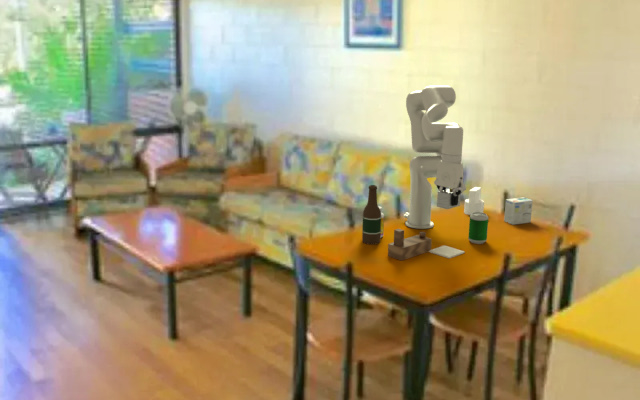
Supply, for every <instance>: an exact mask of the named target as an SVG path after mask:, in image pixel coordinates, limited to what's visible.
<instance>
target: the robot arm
mask: <svg viewBox="0 0 640 400" xmlns="http://www.w3.org/2000/svg"><path fill="white" fill-rule="evenodd" d="M456 99H457V96H456V91H455V89H454V88H453V87H452V86H450V85H428V86H426V87H424V88H422V89H421V90H415V91H411V92H410V93H408V94H407V96H406V100H405V107H406V111H407V115H408V118H409V121H410V132H411V147H412V150H413V152H414V153H417V154H436V155H419V156H414V157H412V158H411V160H410V161H409V174H410V194H409V195H410V196H409V212H406V211H405V213H403V216H402V217H403V218H406V219H407V220H406V221H405V226H407V227H408V228H410V229H411V228H412V229H417V230H418V229H419V230H425V229H430V228H431V229H432V228H433V227H434V222H433V221H431V219H432V201H433V200H432V199H433V186H432V184H431V183H430V181H429V180H428V179H429V178H431V179H432V178H436V179H435V180H434V181H433V183H434V185H435V186H436V188H437V189H438V192H439V191H443V190H447V189H453V195H454V196H452V206H455V205H458V197H459V195H460V194H462V193H463V192H465V191H466V190H467V187H466V184H464V165H463V162H462V157H463V143H464V142H463V141H464V128H463V126H460V124H459V123H457V122H439V121H441V120H442V119H444V118H445V117H446V116H447V114H448V112H449V108H451V107H453V106H454V104H455V103H456ZM424 111H425V112H424Z"/></svg>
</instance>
